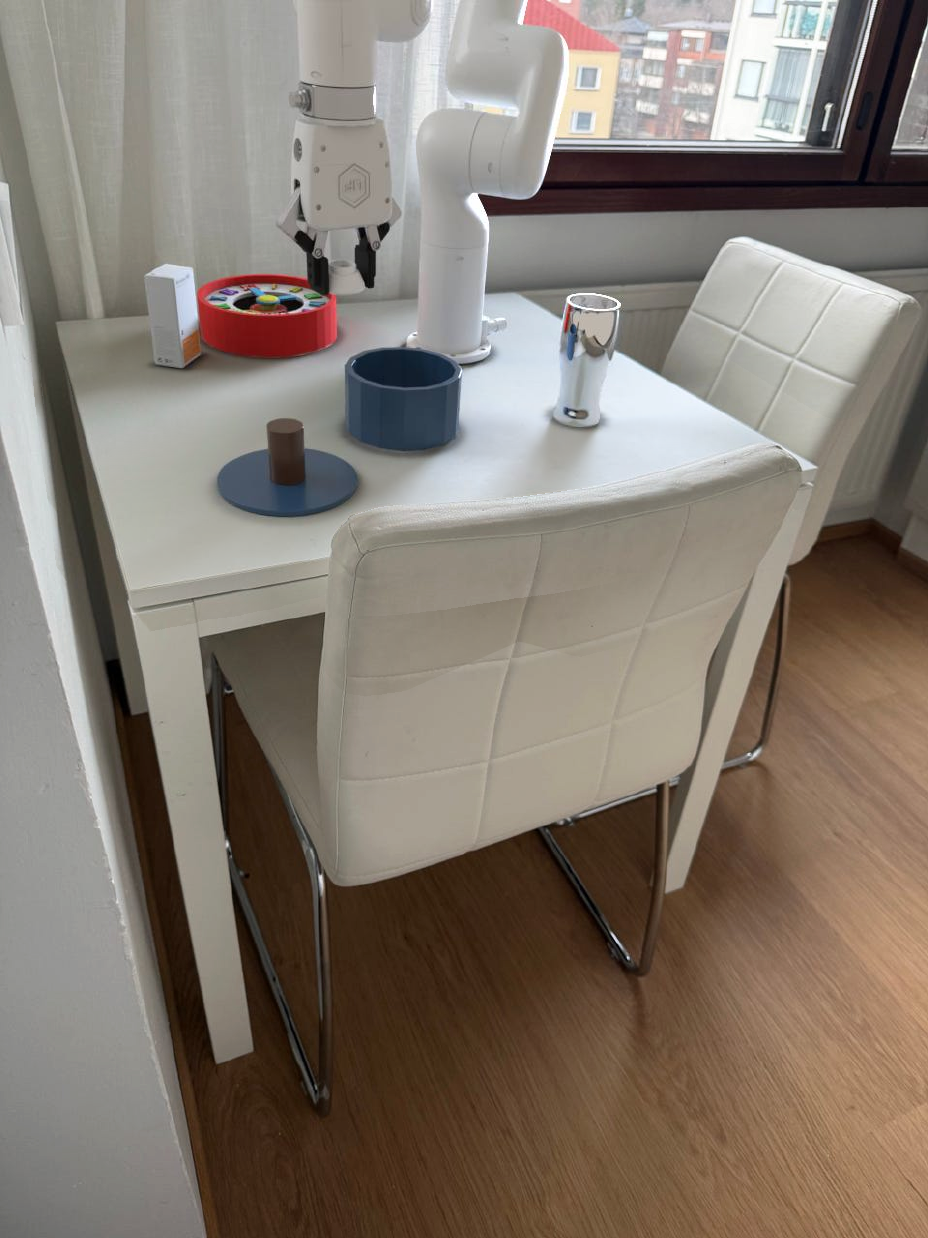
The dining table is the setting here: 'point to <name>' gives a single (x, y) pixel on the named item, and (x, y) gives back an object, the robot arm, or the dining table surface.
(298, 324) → the toy clock
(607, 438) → the dining table surface
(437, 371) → the tin
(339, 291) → the lidless jar
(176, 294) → the cosmetic box
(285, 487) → the tin lid
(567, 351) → the beer glass
